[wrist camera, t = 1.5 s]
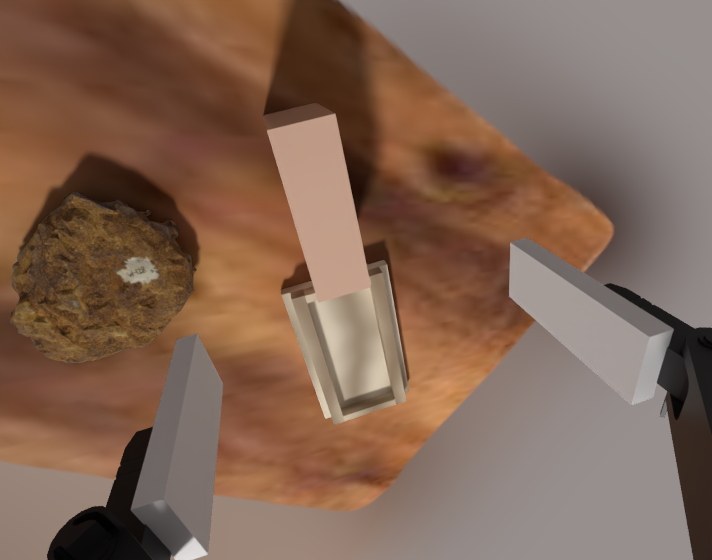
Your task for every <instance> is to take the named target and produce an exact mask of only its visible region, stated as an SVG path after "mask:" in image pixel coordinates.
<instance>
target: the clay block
mask: <svg viewBox="0 0 712 560" xmlns="http://www.w3.org/2000/svg"><path fill="white" fill-rule="evenodd" d="M263 116H264V120H265V124H266V129H267V132H268V136H269V139H270V142H271V146H272V149H273V152H274V156H275V159H276V162H277V166H278V169H279V172H280V176H281V179H282V183H283V186H284V189H285V193H286V196H287V199H288V203H289V206H290V209H291V213H292V216H293V219H294V223H295V226H296V229H297V233H298V236H299V239H300V243H301V246H302V250H303V253H304V256H305V260H306V263H307V266H308V270H309V273H310V276H311V280H312V283H313V286H314V290H315V293H316V296H317V300H318V303H320V302H323V301H326V300H330V299H333V298H337V297H340V296H343V295H347V294H350V293H353V292H357V291H360V290H363V289H367V288H370V287H371V284H370V279H369V274H368V269H367V264H366V260H365V255H364V250H363V245H362V240H361V235H360V231H359V226H358V221H357V216H356V211H355V206H354V201H353V197H352V192H351V187H350V182H349V177H348V172H347V167H346V163H345V158H344V153H343V148H342V143H341V138H340V134H339V129H338V124H337V119H336V114H335V113H334V112H332V111H330V110H328V109H326V108H325V107H323V106H321V105H319V104H317V103H312V104H308V105H304V106H300V107H296V108H292V109H287V110H283V111H279V112H275V113H271V114H267V115H263Z"/></svg>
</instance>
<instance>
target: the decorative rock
mask: <svg viewBox="0 0 712 560" xmlns="http://www.w3.org/2000/svg"><path fill="white" fill-rule="evenodd" d="M151 212H152V211H151V210H147V211H145V212H137V211H136V210H134V209H132V208H130V207H129V206H128V204H124V203H122V202H121V201H120V200H118V199H116V201H112V202H104V203H99V202H97V201H94V200H92V199H90V198H88V197H86V196H84V195H82V194H80V193H79V192H72V193H71V194H69V195H68V196H67V197H65V198H64V201H63V202H62V203H61V205H60V206H59V207H58V208H57V209H55V210H53V211H52V212H51V213H49V214H48V215H47V216H46V217H45V218H44V219H43V220H42V221H41V222H40V223H39V224H38V227H37V229H36V231H35V233H34V235H33V236H32V238H31V239H30V241H29V242H28V244H27V245H26V246H25V248H24V249H23V250H22V252H21V253H20V254H19V255H18V257H17V259H18V262H17V263H15V264H14V265H13V266H12V267H13V269H14V273H13V275H12V287H13V288H14V290H15V291H16V292H17V293H18V295H19V296H20V300H19V302H18V304H17V306H16V308H15V310H14V311H13V312H12V313H11V322H10V323H11V324H12V325H14V326H15V327H16V328H18V331H17V333H20V334H22V335H24V336H26V337H30V338H31V340H32V342H33V344H34V345H35V347H36V348H37V349H38V350H39V351H41V352H42V353H43V354H44V355H45V356H46V357H47V358H48V359H53V360H60V361H64V362H67V363H82V362H84V361H88V360H92V361H93V360H97V359H100V358H103V357H107V356H111V355H113V354H115V353H117V352H120V351H123V350H126V349H130V348H141V347H147V346H149V345H150V344H151V342H152V341H153V339H154V338H155V337H156V335H157V334H160V333H161V332H162V331H163V329H164V328H165V327H166V325H167V324H168V323H169V322H170V321H171V319H172V317H174V316H175V315H177V314H178V313H179V312H180V311H181V309H182V308H183V306H184V304H185V303H186V301H187V299H188V298H189V296H190V295H191V294H192V292H193V291H194V286H193V274H194V272H195V271H196V270H197V269H196V268H195V267H194V266H192V260H191V255H189V254H187V253H185V252H183V250H182V248H181V247H180V246H179V245H178V244H177V242H176V239H175V238H176V237H178V231H179V228H178V226H177V225H176V223H175V222H174V221H172V220H167V221H165V222H163V223H158V222H154V221H150V220H148V218H147V216H148V215H149V214H150V213H151Z"/></svg>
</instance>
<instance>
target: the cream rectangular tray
mask: <svg viewBox="0 0 712 560" xmlns="http://www.w3.org/2000/svg"><path fill="white" fill-rule="evenodd" d="M367 269H368V274H369V279H370V284H371V287H370V288H367V289H363V290H360V291H357V292H353V293H350V294H347V295H343V296H340V297H337V298H333V299H330V300H326V301H323V302H320V303H318V300H317V296H316V293H315V290H314V286H313V283H312V281H309V282H305V283H302V284H299V285H295V286H292V287H288V288H285V289H281V295H282V298H283V301H284V303H285V306H286V309H287V312H288V315H289V317H290V320H291V323H292V326H293V329H294V332H295V334H296V337H297V340H298V343H299V346H300V349H301V351H302V354H303V357H304V360H305V363H306V365H307V368H308V371H309V374H310V377H311V380H312V382H313V385H314V388H315V391H316V394H317V396H318V399H319V402H320V405H321V408H322V411H323V413H324V416H325V419H326V418H329V417H332V420H333V423H334V425H336V424H339V423H342V422H345V421H347V420H350V419H353V418H356V417H359V416H362V415H365V414H368V413H371V412H374V411H377V410H380V409H383V408H386V407H389V406H392V405H395V404H399V403H402V402H405V401H406V397H405V392H408V391H409V387H408V382H407V376H406V370H405V364H404V359H403V353H402V347H401V342H400V336H399V330H398V324H397V319H396V313H395V307H394V301H393V296H392V290H391V284H390V278H389V273H388V267H387V264H386V262H385V261H384V260H381V261H378V262H374V263H371V264H367Z"/></svg>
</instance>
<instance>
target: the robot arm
mask: <svg viewBox="0 0 712 560" xmlns="http://www.w3.org/2000/svg"><path fill="white" fill-rule="evenodd" d="M509 297H510V298H512V299H513V300H514V301H515V302H516V303H517V304H518V305H519V306H521V307H522V308H523V309H524V310H525V311H526V312H527V313H528V314H530V315H531V316H532V317H533V318H534V319H535V320H536V321H537V322H539V323H540V324H541V325H542V326H543V327H544V328H545V329H546V330H547V331H549V332H550V333H551V334H552V335H553V336H554V337H555V338H556V339H558V340H559V341H560V342H561V343H562V344H563V345H564V346H565V347H567V348H568V349H569V350H570V351H571V352H572V353H573V354H574V355H576V356H577V357H578V358H579V359H580V360H581V361H582V362H583V363H584V364H586V365H587V366H588V367H589V368H590V369H591V370H592V371H593V372H595V373H596V374H597V375H598V376H599V377H600V378H601V379H602V380H604V381H605V382H606V383H607V384H608V385H609V386H610V387H612V388H613V389H614V390H615V391H616V392H617V393H618V394H619V395H621V396H622V397H623V398H624V399H625V400H626V401H627V402H628V403H629V404H630V405H633V404H636V403H639V402H642V401H644V400H648V399H650V398H653V396H654V392H655V389H656V386H657V383H658V384H659V385H660V386H661V387H663V388H664V389H665V390H667V394H666V397H665V400H664V404H663V406H662V409H661V414H660V417H665V415H666V412H667V411H668V417H669V422H670V428H671V434H672V440H673V445H674V451H675V457H676V462H677V468H678V474H679V479H680V485H681V490H682V497H683V502H684V507H685V513H686V519H687V525H688V530H689V536H690V542H691V547H692V553H693V559H694V560H712V328H696V329H694V328H693V327H691V326H689V325H688V324H686V323H684V322H682V321H681V320H679V319H677V318H676V317H674V316H672V315H671V314H669V313H667V312H666V311H664V310H662V309H661V308H659V307H657V306H655V305H652V304H651V303H650V302H649V301H647V300H645V299H644V298H642V299H641V297H640V296H639V295H637V294H635V293H633V292H632V291H630V290H628V289H626V288H623V287H620V286H617V285H614V284H611V283H609V284H606V285H602V284H601V283H599V282H597V281H596V280H594V279H593V278H591V277H589V276H588V275H586V274H585V273H583V272H581V271H580V270H578V269H577V268H575V267H573V266H572V265H570V264H569V263H567V262H565V261H564V260H562V259H560V258H559V257H557V256H556V255H554V254H552V253H551V252H549V251H548V250H546V249H544V248H543V247H541V246H540V245H538V244H536V243H535V242H533V241H531V240H530V239H528V238H525V239H521V240H518V241H514V242H511V243H510V285H509ZM222 392H223V383H222V381H221V379H220V377H219V375H218V373H217V371H216V369H215V367H214V365H213V363H212V361H211V359H210V357H209V356H208V354H207V352H206V350H205V348H204V346H203V344H202V342H201V340H200V338H199V336H198V334H194V335H190V336H187V337H184V338H180V339H177V341H176V345H175V349H174V352H173V356H172V360H171V363H170V367H169V371H168V374H167V378H166V382H165V385H164V389H163V393H162V396H161V400H160V404H159V407H158V411H157V415H156V418H155V422H154V426H153V427H151V428H148V429H144V430H141V431H138V432H136V433H135V435H134V436H133V438H132V439H131V441H130V442H129V443H128V445H127V446H126V448H125V450H124V453H123V456H122V459H121V462H120V465H121V466H120V467H119V468H118V471H117V475H116V480H115V481H114V484H113V487H112V490H111V493H110V496H109V499H108V502H107V505H106V508H105V507H103V506H95V507H91V508H88V509H86V510H84V511H81V512H80V513H78V514H77V515H76V516H75V517H73V518H72V519H70V520H69V521H68V522H67V523H66V524H65V525H64V526H63V527H62V528H61V529H60V530H59V532H58V533H57V535H56V536H55V538H54V539H53V541H52V542H51V545H50V548H49V551H48V554H47V558H48V560H170V557H171V555H172V556H173V557H174V558H175V559H176V560H193V559H196V558H199V557H202V556H204V555H207V554H208V549H209V548H208V547H209V538H210V526H211V515H212V503H213V493H214V481H215V470H216V459H217V448H218V437H219V425H220V414H221V403H222Z"/></svg>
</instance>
